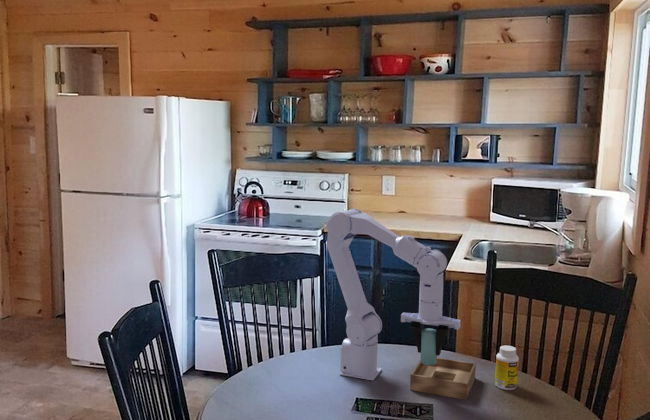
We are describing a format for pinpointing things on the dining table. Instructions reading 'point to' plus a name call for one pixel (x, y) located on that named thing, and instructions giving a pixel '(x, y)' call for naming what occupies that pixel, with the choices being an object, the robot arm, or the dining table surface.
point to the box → (444, 378)
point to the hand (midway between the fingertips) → (429, 352)
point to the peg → (428, 346)
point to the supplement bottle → (506, 368)
